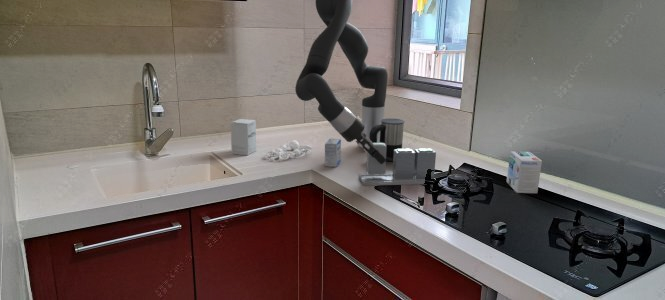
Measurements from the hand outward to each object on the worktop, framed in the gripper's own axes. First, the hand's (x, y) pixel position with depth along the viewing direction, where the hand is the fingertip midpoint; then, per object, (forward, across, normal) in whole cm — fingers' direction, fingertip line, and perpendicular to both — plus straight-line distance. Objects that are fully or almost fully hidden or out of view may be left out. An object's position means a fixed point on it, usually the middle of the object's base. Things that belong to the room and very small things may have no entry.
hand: (382, 160), depth 155 cm
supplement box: (-28, +37, +38) cm, 60 cm away
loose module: (+2, 0, +4) cm, 5 cm away
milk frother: (+12, +22, -1) cm, 25 cm away
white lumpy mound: (-15, +31, +26) cm, 44 cm away
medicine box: (-4, +20, +15) cm, 25 cm away
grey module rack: (+9, 0, +1) cm, 9 cm away
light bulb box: (+36, -9, -26) cm, 46 cm away
